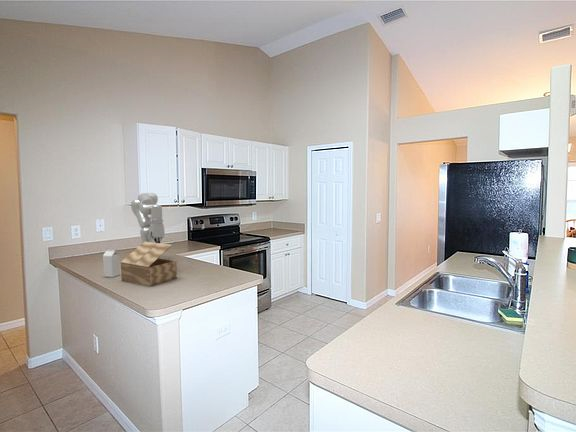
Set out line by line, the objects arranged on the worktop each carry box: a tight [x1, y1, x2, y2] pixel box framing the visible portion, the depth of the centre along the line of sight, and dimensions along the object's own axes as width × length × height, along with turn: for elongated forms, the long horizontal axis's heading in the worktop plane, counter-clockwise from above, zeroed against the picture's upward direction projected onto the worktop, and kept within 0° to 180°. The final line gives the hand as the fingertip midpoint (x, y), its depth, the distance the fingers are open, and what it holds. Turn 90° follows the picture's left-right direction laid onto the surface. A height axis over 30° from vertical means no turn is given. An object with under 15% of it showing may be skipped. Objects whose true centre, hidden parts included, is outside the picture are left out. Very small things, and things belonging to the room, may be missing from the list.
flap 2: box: [134, 242, 173, 267], centre depth 210 cm, size 22×14×1 cm
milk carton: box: [102, 248, 121, 278], centre depth 224 cm, size 7×7×19 cm
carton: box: [120, 257, 178, 287], centre depth 216 cm, size 22×28×12 cm
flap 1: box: [120, 241, 158, 265], centre depth 217 cm, size 22×14×1 cm
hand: (157, 246), depth 232 cm, fingers closed
